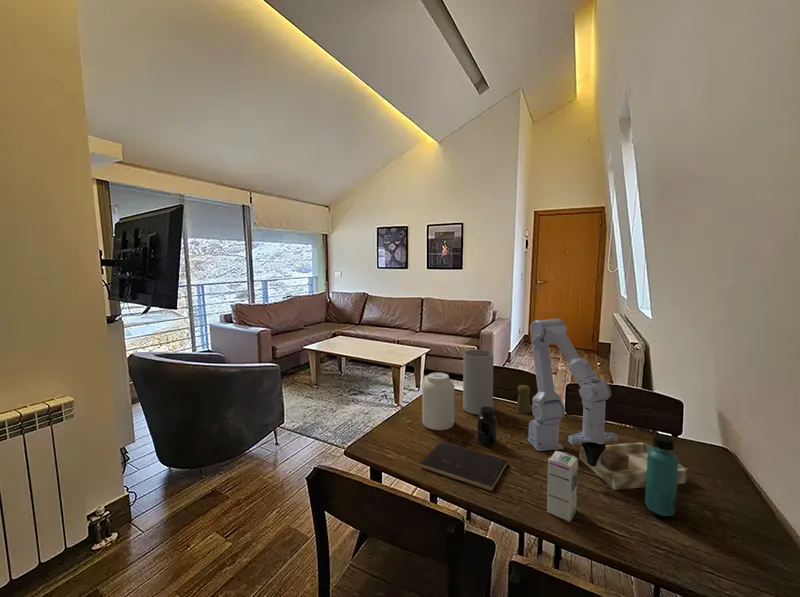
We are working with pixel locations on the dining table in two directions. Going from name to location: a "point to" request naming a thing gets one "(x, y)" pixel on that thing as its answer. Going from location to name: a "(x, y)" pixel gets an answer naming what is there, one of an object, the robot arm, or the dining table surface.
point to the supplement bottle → (487, 426)
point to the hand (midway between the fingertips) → (591, 464)
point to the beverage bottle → (661, 477)
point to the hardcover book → (465, 465)
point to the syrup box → (562, 485)
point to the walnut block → (614, 459)
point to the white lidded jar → (438, 402)
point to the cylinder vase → (477, 380)
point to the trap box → (629, 467)
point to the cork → (523, 400)
